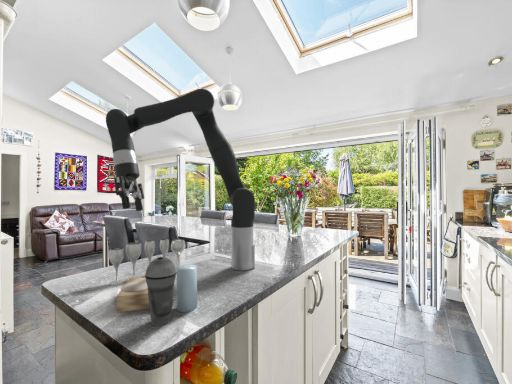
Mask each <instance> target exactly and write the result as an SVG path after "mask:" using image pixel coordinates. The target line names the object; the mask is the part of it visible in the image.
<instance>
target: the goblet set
mask: <svg viewBox="0 0 512 384" xmlns="http://www.w3.org/2000/svg"><path fill="white" fill-rule="evenodd" d="M165 239H166V240H167V244H166V252H165V257H166V258H167V254H168V252H169V249H170V250H171V251H172V252H173V253H174V254H175V256H176V258H177V267H179V266H180V264H179V263H180V256H181V254H182V253H183V252H184V250H185V249H186V242H185V240H184V239H183V238H178V239H177V238H176V239H175V238H174V239H173V240H171V244H170V241H169V239H168V238H162V239H161V238H160V240H159V249H160V252H161V254H162V256H163V251H164V243H165ZM155 244H156V243H155V240H153V239H150V240H149V239H148V240H145V241H144V247H143V248H144V253H145V255H146V257H147V259H148V265H149V264H150V263H151V262H152V258H153V256H154V254H155V251H156V249H155V248H156V245H155ZM142 250H143V249H142V243H141V241H140V242H139V241H136V242H135V241H134V242H128V243H126V246H125V249H124V247H113V248H110V249H108V259H109V261H110V263H111V265H113V267H114V269H115V280H113V281H110V282H109V284H110V286H111V285H112V286H114V285H115V286H116V285H120V284H122V283H124V280H123V279H120V280H119V279H118V270H119V266H120V265H121V263H122V261H123V260H124V258H125V257H124V256H125V253H126V256H127V259H129V261H130V262H131V264H132V270H133V271H132V274H133V276H131V277H128V278H126V282H127V281H128V280H129V279H133V278H142V277H141V276H135V270H136V269H135V265H136V262H137V261H138V260H139V258H140V257H141V254H142ZM177 267H175V268H176V272H177Z"/></svg>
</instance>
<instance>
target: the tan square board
mask: <svg viewBox="0 0 512 384" xmlns="http://www.w3.org/2000/svg"><path fill="white" fill-rule="evenodd" d="M115 303H116V304H115V305H116V313H121V312H122V313H123V312H131V311H141V310H147V309H149V310H150V307H149V296H148V286H147V283H146V278H145V277H141V278H133V279H129V280H128V281H127V280H126V282H125V284H124V285H123V286H122V287H121V289H120V291H119V292H118V294H117V295H116V301H115Z"/></svg>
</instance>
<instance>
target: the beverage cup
mask: <svg viewBox="0 0 512 384" xmlns="http://www.w3.org/2000/svg"><path fill="white" fill-rule="evenodd" d="M164 239H165V243H164V251H163V255H162V256H161V257H157V258H154V259H152V260H151V263H150V264H149V263H148V265H147V267H146V269H145V274H144V278H146V283H147V286H148V296H149V307H150V309H149V315H150V321H151V322H150V323H151V325H152V326H155V327H161V326H165V325H167V324H170V323H171V322H172V313H173V303H174V302H173V301H174V291H175V283H176V278H177V271H176V268H177V267H176V265H175V263H174V262H173V261H172V259H170V258H169V257H167V256H166V257H165V252H166V244H167V240H166V239H167V238H164Z"/></svg>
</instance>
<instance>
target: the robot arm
mask: <svg viewBox="0 0 512 384" xmlns="http://www.w3.org/2000/svg"><path fill="white" fill-rule="evenodd" d="M214 105H215V96H214V95H213V92H211V91H210V90H208V89H206V88H197V89H195V90H193V91H190V92H188V93H186V94H183V95H181V96H177V97H175V98H172V99H168V100H165V101H162V102H157V103H153V104H148V105H144V106H140V107H137V108H135V109H134V110H133V113H132V114H130V115H127V114H126V112H124V111H123V110H121V109H118V108H113V109H110V110H109V111H107V113H106V115H105V125H106V128H107V132H108V135H109V138H110V141H111V149H112V160H113V161H112V162H113V166H114V174H115V177H114V178H113V179H114V181H113V182H114V188H115V195H116V196H119V198H120V199H121V205H122V209H123V210H127V209H130V208H131V201H130V197H132V198H133V200H134V205H135V206H134V207H135V211H136V212H141V211H143V209H144V207H143V203H142V202H143V201H142V200H144V199H145V193H144V190H143V189H144V188H143V184H142V183H141V182H140V183H138V182H137V179H138V178H139V177H140V176H141V175H140V170H139V169H140V168H139V163H138V158H137V157H138V156H137V155H136V151H135V144H134V140H133V139H132V137H131V134H133V133H135V132H137V131H140V130H141V129H142V128H145V127H149V126H153V125H157V124H162V123H163V122H166V121H169V120H170V119H173V118H174V117H177V116H180V115H183V114H187V113H192V114H193V116H194V118H195V120H196V122H197V123H198V125H199V128H200V129H201V131H202V135H203V138H204V140H205V143H206V146H207V148H208V151H209V154H210V156H211V159H212V161H213V163H214V165H215V167H216V169H217V171H218V173H219V176H220V177H221V179H222V180H223V183H224V186H225V189H226V192H227V195H228V199H229V203H230V205H231V206H232V216H231V217H232V218H231V221H230V230H231V231H230V232H231V233H230V234H231V235H230V237H231V238H230V240H231V241H230V243H231V246H230V248H231V249H230V251H231V253H230V254H231V257H230V258H231V262H230V263H231V269H232V270H234V271H235V270H236V271H248V270H252V269H255V268H256V267H255V266H256V265H255V264H256V261H255V260H256V259H255V258H256V256H255V255H256V254H255V253H256V252H255V251H256V249H255V247H256V246H255V244H254V221H255V213H256V212H255V211H256V209H255V208H256V201H255V199H256V198H255V196H254V193H253V191H252V190H251V189H249V188H247V187H245V184H244V183H243V181H242V180H241V176H240V174H239V168H238V162H237V159H236V154H235V152H234V149H233V147H232V145H231V143H230V141H229V138H228V137H227V135H226V134H225V132H223V130H222V129H221V127H220V125H219V124H218V121H217V119H216V116H215V113H214V109H213V108H214ZM129 196H130V197H129Z"/></svg>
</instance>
